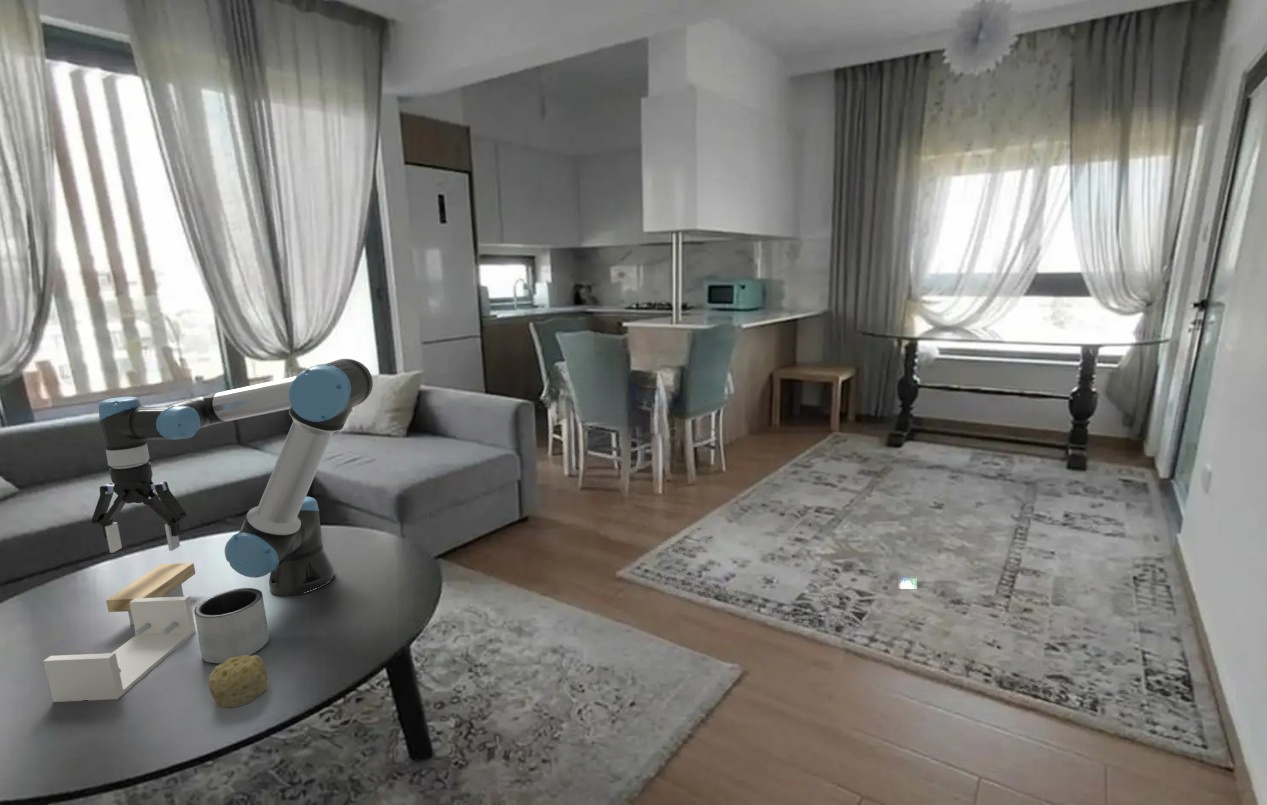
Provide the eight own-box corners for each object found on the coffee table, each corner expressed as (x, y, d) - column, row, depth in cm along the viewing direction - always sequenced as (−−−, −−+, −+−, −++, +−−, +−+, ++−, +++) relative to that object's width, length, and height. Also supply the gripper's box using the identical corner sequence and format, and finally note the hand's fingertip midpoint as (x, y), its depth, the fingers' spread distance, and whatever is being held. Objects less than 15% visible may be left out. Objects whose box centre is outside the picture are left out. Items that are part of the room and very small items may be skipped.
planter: (197, 673, 127) (188, 623, 125) (206, 642, 138) (198, 596, 136) (268, 655, 133) (261, 607, 130) (271, 626, 144) (264, 582, 141)
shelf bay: (195, 631, 142) (189, 596, 141) (117, 699, 120) (108, 657, 118) (141, 633, 142) (134, 598, 140) (53, 702, 119) (43, 660, 117)
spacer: (183, 597, 158) (180, 579, 157) (149, 623, 146) (146, 604, 145) (166, 598, 158) (162, 580, 157) (130, 624, 146) (126, 605, 145)
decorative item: (251, 695, 125) (213, 663, 123) (288, 666, 125) (250, 633, 123) (226, 729, 116) (184, 695, 114) (265, 698, 116) (224, 663, 113)
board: (195, 573, 160) (193, 562, 159) (144, 610, 142) (142, 598, 142) (163, 575, 160) (161, 564, 159) (108, 612, 142) (106, 600, 141)
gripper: (195, 457, 149) (208, 541, 153) (87, 460, 148) (103, 544, 152) (174, 467, 141) (188, 554, 145) (60, 470, 140) (78, 557, 145)
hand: (145, 549), depth 149 cm, fingers open, 13 cm apart
